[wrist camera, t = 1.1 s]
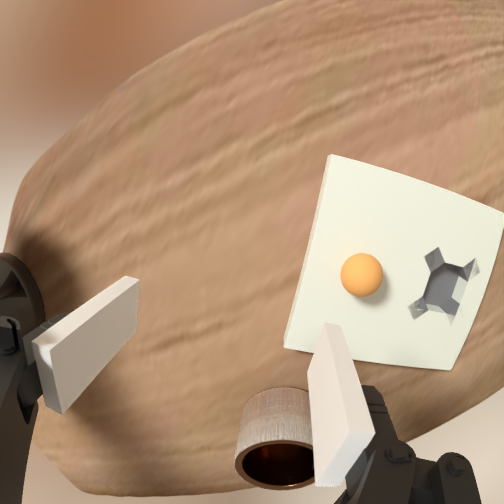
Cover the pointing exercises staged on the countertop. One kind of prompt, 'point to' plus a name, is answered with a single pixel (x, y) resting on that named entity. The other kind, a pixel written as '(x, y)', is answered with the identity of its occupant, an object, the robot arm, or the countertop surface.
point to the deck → (394, 266)
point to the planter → (276, 440)
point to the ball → (361, 275)
